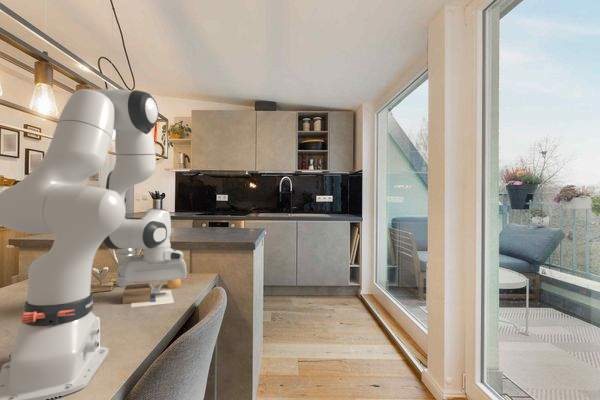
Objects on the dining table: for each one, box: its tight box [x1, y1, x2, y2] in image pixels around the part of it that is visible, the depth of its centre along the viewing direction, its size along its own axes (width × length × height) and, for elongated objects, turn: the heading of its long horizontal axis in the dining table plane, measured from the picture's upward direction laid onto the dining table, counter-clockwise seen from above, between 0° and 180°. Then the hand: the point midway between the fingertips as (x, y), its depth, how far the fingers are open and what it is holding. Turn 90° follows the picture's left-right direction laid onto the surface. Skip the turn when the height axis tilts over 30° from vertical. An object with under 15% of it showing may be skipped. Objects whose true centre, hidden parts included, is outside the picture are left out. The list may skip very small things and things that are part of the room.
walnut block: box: [122, 282, 152, 305], centre depth 109 cm, size 9×8×4 cm
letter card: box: [130, 289, 175, 308], centre depth 111 cm, size 16×13×1 cm
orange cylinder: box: [166, 279, 182, 290], centre depth 125 cm, size 5×5×6 cm
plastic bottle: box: [115, 248, 136, 288], centre depth 125 cm, size 6×7×20 cm
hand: (155, 293), depth 111 cm, fingers closed
